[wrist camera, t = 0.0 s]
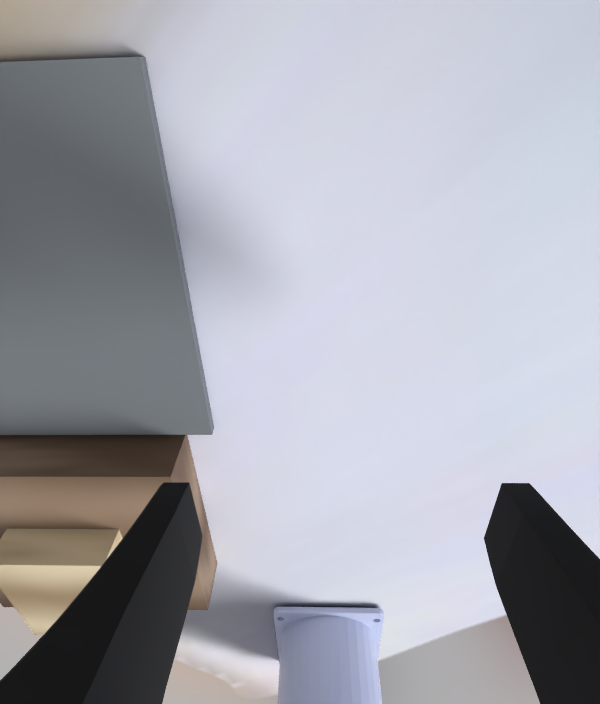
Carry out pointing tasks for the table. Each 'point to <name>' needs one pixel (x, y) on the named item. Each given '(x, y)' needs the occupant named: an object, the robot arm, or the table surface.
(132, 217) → the charcoal mat
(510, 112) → the table surface
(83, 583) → the birch tile
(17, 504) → the block
